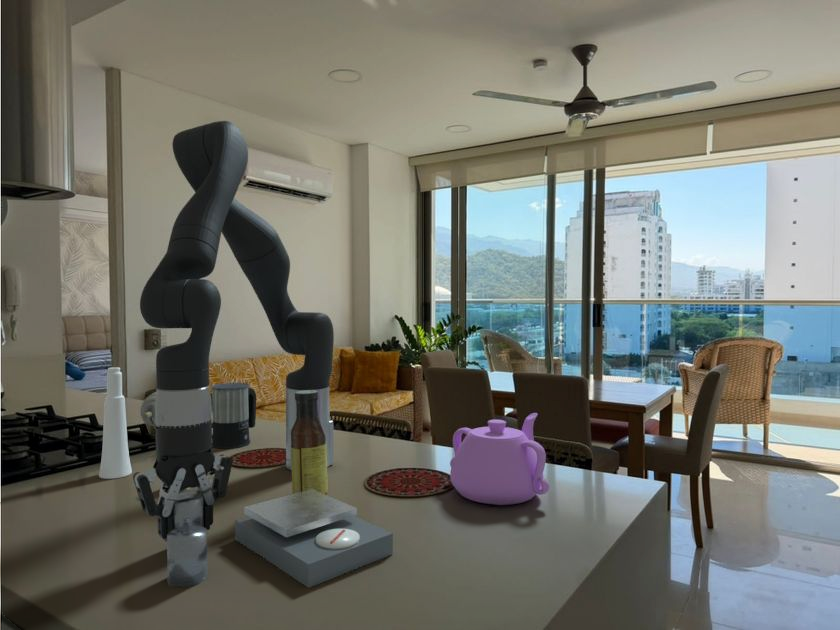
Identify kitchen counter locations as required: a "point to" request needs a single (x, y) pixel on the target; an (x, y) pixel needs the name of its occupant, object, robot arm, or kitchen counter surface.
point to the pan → (299, 512)
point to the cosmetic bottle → (114, 430)
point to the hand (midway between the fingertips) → (186, 533)
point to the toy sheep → (149, 412)
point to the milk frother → (232, 414)
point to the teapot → (498, 463)
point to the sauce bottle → (308, 446)
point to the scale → (317, 547)
